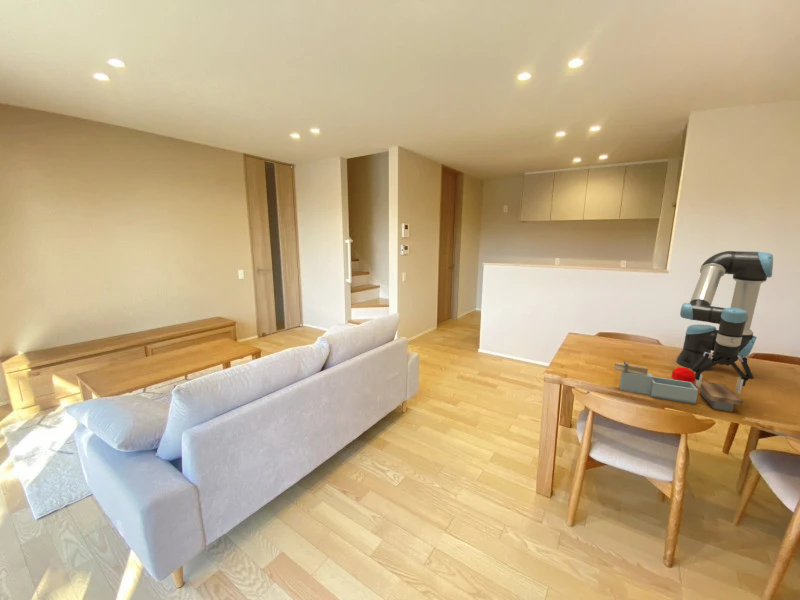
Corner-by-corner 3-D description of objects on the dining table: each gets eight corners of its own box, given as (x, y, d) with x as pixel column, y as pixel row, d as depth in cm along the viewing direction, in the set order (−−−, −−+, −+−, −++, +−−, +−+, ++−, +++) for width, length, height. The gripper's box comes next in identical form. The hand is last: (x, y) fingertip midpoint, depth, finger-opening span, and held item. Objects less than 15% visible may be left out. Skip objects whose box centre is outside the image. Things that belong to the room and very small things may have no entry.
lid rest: (700, 394, 153) (702, 386, 152) (717, 396, 151) (719, 388, 150) (713, 408, 141) (715, 400, 140) (732, 411, 138) (734, 403, 137)
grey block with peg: (619, 386, 160) (623, 361, 157) (647, 391, 156) (652, 365, 153) (620, 390, 157) (624, 364, 154) (649, 395, 152) (654, 368, 149)
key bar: (614, 368, 159) (615, 362, 158) (645, 372, 154) (646, 366, 153) (615, 370, 157) (616, 364, 156) (646, 374, 152) (647, 368, 151)
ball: (686, 380, 167) (689, 366, 165) (696, 388, 159) (699, 373, 157) (668, 379, 168) (671, 365, 167) (677, 386, 161) (680, 371, 159)
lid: (710, 400, 140) (711, 396, 139) (696, 384, 154) (696, 380, 154) (742, 405, 136) (743, 401, 135) (723, 388, 150) (724, 384, 150)
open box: (646, 389, 158) (648, 375, 156) (688, 396, 151) (691, 382, 150) (650, 397, 150) (653, 383, 149) (695, 404, 144) (698, 390, 142)
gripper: (694, 343, 142) (684, 387, 147) (772, 351, 132) (760, 398, 137) (687, 337, 149) (679, 380, 154) (761, 345, 139) (750, 390, 144)
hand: (717, 389), depth 145 cm, fingers open, 13 cm apart
